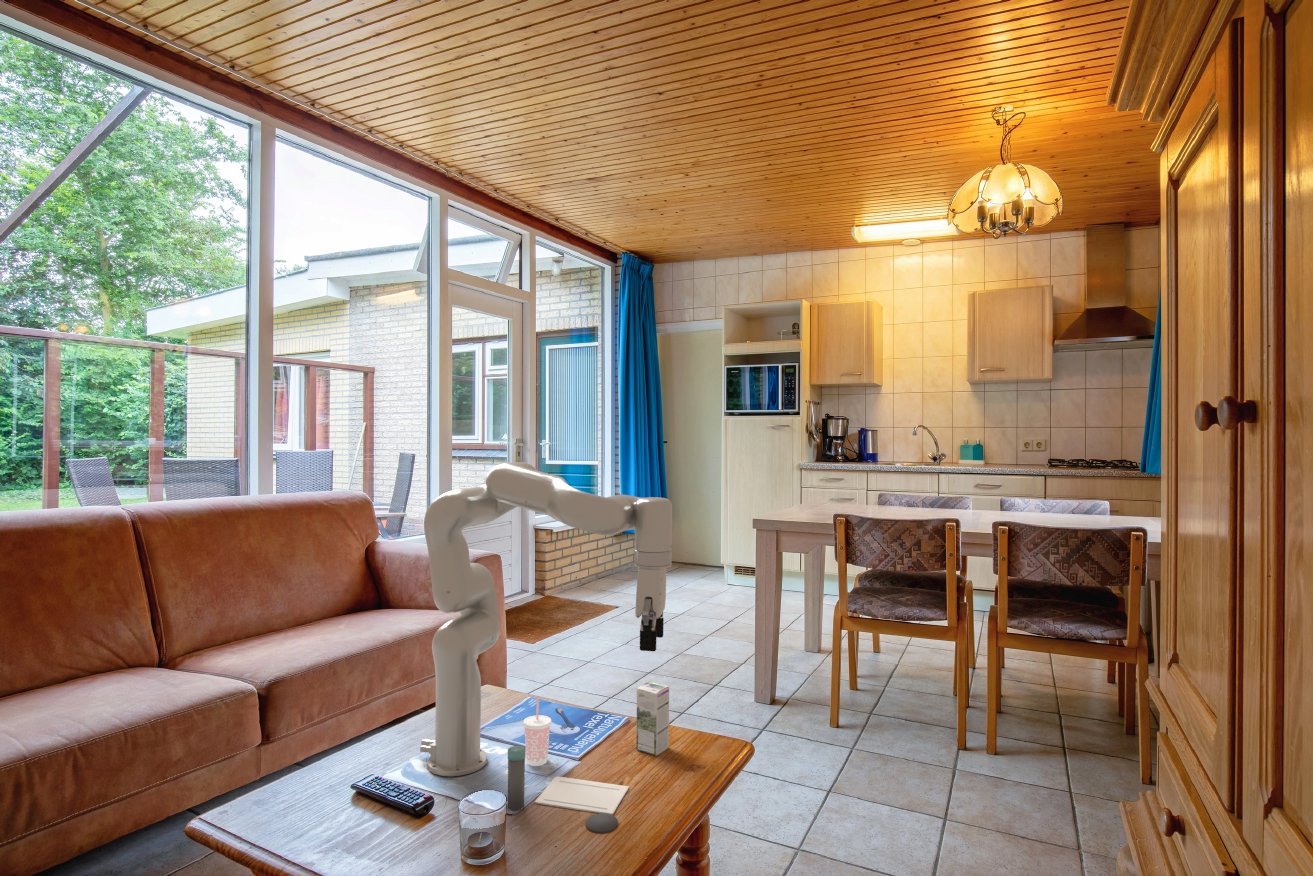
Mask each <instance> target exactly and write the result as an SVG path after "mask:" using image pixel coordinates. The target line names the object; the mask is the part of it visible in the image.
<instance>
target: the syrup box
mask: <svg viewBox="0 0 1313 876" xmlns="http://www.w3.org/2000/svg"><path fill="white" fill-rule="evenodd" d="M669 718H670V686H669V685H665V684H660V683H657V682H652V681H648V682H645V683H643V684H641V685H640V686H638V687H637V688H636V722H635V723H636V729H635V730H636V734H635V736H636V738H635V739H636V741H635V742H636V743H635V744H636V745H635V747H636V748H635V749H636V751H639V752H643V753H647V754H650V755H652V756H659V755H661V753H663V752H664V751H666V750H667V749H668V748H669V747H670V740H669V739H670V736H669V735H670V734H669V733H670V728H669V727H670V724H669V723H670V719H669Z"/></svg>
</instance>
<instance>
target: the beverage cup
mask: <svg viewBox="0 0 1313 876" xmlns="http://www.w3.org/2000/svg"><path fill="white" fill-rule="evenodd" d="M539 701H540V697H536V709H535V710H536V715H531V716H527V717H526V718H524V720H523V721H522V722H523V727H524V741H525V749H526V754H525V763H526V764H527V765H528V766H531V767H537V766H539V767H540V766H542V765H545V764H546V763H547V762H548V757H549V744H550V727H551V726H552V719H551V717H549V716H547V715H542V714H541V715H540V714H539V709H540V708H539V707H540V704H539Z"/></svg>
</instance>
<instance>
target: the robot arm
mask: <svg viewBox="0 0 1313 876" xmlns="http://www.w3.org/2000/svg"><path fill="white" fill-rule="evenodd" d="M517 507H518V508H521V509H524V510H527V511H531V512H536V513H539V514H542V515H545V516H548V517H551V518H552V519H554V520H555V521H558V522H560V523H562V524H563V525H566V526H568V527H571V528H574V529H578V530H581V531H585V532H588V533H592V534H596V535H600V536H610V537H611V536H615V535H617V534H619V533H623V532H626V531H631V530H634V567H635V568H638V571H637V577H636V591H635V612H634V613H635V614H634V616H635V617H636V618H637V619H639V618H640V617H641V620H640V627H639V628H640V629H639V650H640V651H642V652H656V651H657V638H659V639H661V638H663V637H664V625H665V624H664V623H665V622H664V619H665V618H664V611H665V608H666V600H667V599H666V596H667V569H669V568H672V564H673V563H672V559H673V558H672V556H673V555H672V554H673V553H672V551H673V549H672V547H673V546H672V545H673V503H672V501H671V500H670V499H668V498H665V497H658V496H657V497H656V496H655V497H654V496H649V497H639V496H635V495H628V494H617V495H611V496H607V497H605V496H600V495H597V494H593V493H589V492H586V491H582V490H580V489H577V488H575V487H572V486H570V485H569V484H568V482H567V481H566V479H565V478H564V477H561V476H558V475H555V474H551V473H548V472H543V471H540V470H538V469H537V468H536V467H535V466H533V465H532V464H530V463H528V462H522V461H516V462H504V463H499V464H497V465H495V466H494V467H492V468H491V469H490V470H489V472H487V475H486V478H485V483H484V484H482V485H479V486H476V487H466V488H465V487H464V488H458V489H452V490H449V491H446V492H445V493H443V494H441V495H439V496H438V497H436V498H435V499H434V500H432V502H431V503H430V504H429V506H428V507H427V509H426V512H425V514H424V520H423V530H424V538H425V541H426V547H427V553H428V561H429V563H428V564H429V572H430V580H431V581H430V582H431V589H432V591H431V592H432V596H433V601H434V605H435V606H436V608H437V609H438V610H439V611H440V612H442V613H444V614H455V613H459V612H460V615H459V616H456V617H455V618H453V619H450V620H448V621H446V622H445V623H444V624H442V625H441V626H440V627H439V628H438V629H437V630H436V631H435V633H434V635H433V638H432V640H431V652H432V653H431V654H432V659H433V663H434V671H435V672H434V673H435V730H434V733H435V734H434V736H435V737H434V739H432V738H431V739H430V738H423V739H422V740H421V742H420V748H419V751H420V753H428V754H429V755H430V756H429V757H428V759H427V763H426V766H427V770H428V771H429V772H431V774H432V773H433V774H435V775H436V776H441V777H442V776H443V777H459V776H464V775H469V774H473V773H475V772H477V771H479V770H481V769H482V768H483V767H485V765H487V763H488V753H487V752H486V751H485V750H483V749H482V748H481V722H482V721H481V720H482V719H481V716H482V715H481V714H482V713H481V712H482V705H481V704H482V702H481V701H482V680H481V672H480V669H479V665H478V662H477V657H478V656H479V655H480V654H482V653H484V652H486V651H488V650H490V648H492V647H493V646H495V644H496V643H497V641H498V639H499V637H500V632H501V631H500V630H501V627H500V626H501V625H500V614H499V613H500V612H499V607H498V599H497V598H498V597H497V596H498V595H497V590H496V584H495V580H494V577H493V574H492V573H491V572H490V570H489V568H487V567H486V566H484V565H483V564H481V563H478V562H471V559H470V550H469V546H468V542H467V540H466V538H465V536H464V535H463V533H462V532H463V529H465V528H470V527H475V526H480V525H483V524H485V525H486V524H488V523H491V522H493V521H495V520H497V519H499V518H500V517H502V516H504V515H505V514H507V513H509V512H510V511H512V510H514V509H515V508H517Z"/></svg>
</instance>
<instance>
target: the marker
mask: <svg viewBox="0 0 1313 876" xmlns="http://www.w3.org/2000/svg"><path fill="white" fill-rule="evenodd" d="M525 771H526V746H525V747H524V746H522V745H513V746H510V747H508V748H507V799H506V800H507V801H508V808H507V809H508V810H510V811H513V812H515V811H520V810H522V809H524V807H525V778H526V777H525V776H526V773H525Z"/></svg>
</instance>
